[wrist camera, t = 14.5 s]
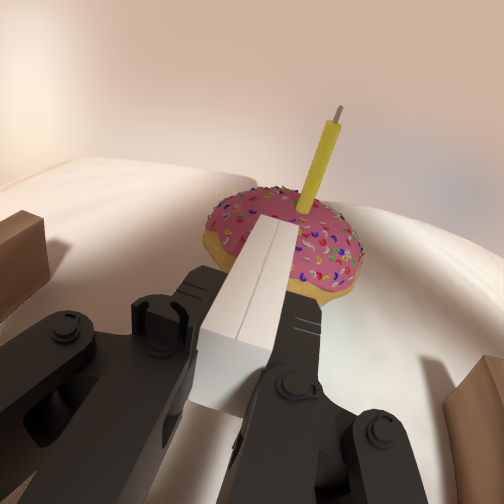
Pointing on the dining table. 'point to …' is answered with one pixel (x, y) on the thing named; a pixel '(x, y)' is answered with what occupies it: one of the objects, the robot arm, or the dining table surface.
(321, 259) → the cupcake
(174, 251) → the dining table surface
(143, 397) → the robot arm
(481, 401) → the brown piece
